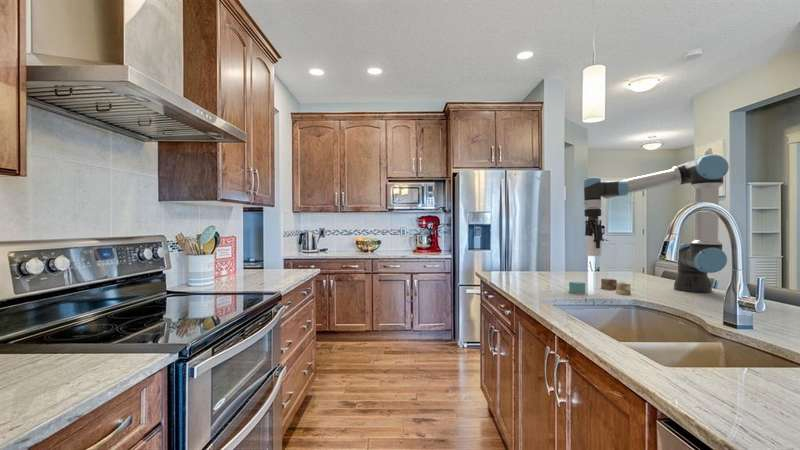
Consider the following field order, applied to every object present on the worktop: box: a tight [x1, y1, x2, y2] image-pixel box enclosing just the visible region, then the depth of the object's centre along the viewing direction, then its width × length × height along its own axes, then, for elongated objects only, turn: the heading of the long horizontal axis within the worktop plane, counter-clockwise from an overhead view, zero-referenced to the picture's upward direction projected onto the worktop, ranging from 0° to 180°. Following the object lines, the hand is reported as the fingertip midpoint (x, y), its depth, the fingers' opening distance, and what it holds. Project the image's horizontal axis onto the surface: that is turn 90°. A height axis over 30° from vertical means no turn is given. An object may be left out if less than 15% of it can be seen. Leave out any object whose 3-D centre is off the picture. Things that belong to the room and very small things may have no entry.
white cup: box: [584, 235, 603, 257], centre depth 190 cm, size 8×8×10 cm
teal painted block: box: [568, 281, 586, 294], centre depth 185 cm, size 5×5×5 cm
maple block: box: [616, 281, 632, 295], centre depth 182 cm, size 5×5×5 cm
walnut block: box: [600, 278, 618, 291], centre depth 195 cm, size 5×5×5 cm
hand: (593, 254), depth 190 cm, fingers closed on white cup, 7 cm apart
